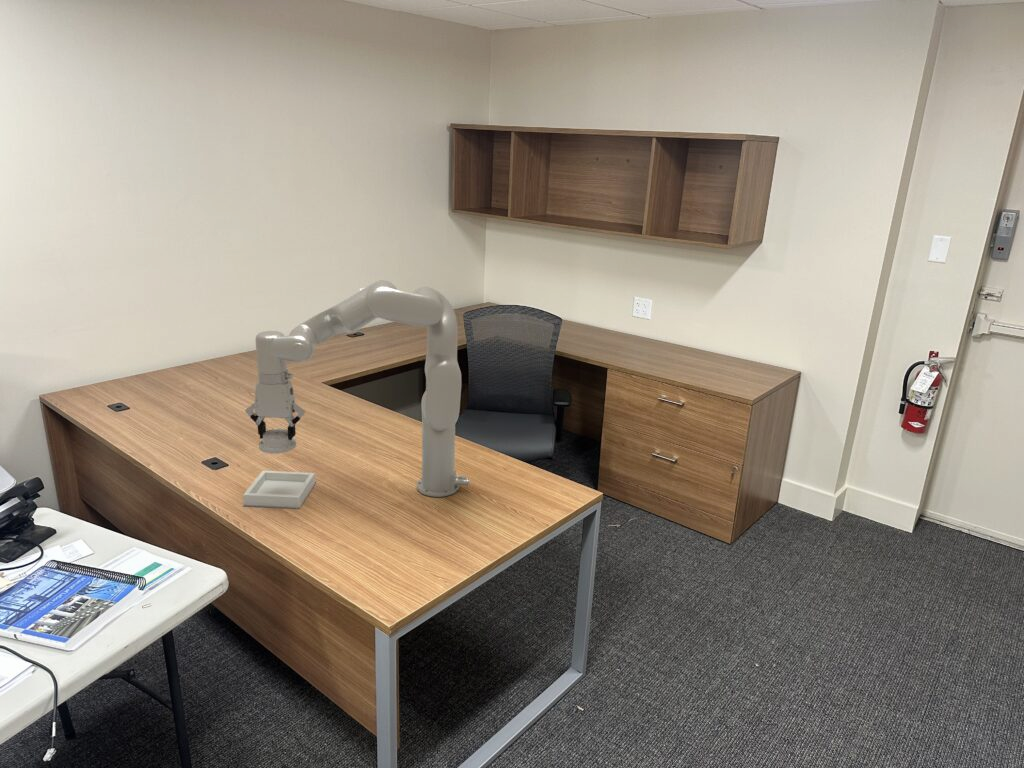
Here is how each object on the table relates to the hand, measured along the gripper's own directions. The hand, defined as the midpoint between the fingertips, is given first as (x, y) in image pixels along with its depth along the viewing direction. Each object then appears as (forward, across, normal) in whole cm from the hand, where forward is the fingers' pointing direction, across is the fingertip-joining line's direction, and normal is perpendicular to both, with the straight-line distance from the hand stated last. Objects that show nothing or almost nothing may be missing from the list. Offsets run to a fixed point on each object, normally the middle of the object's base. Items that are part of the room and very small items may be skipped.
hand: (277, 437), depth 199 cm
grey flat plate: (+18, 0, 0) cm, 18 cm away
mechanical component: (+3, 0, 0) cm, 3 cm away
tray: (+18, 0, 0) cm, 18 cm away
